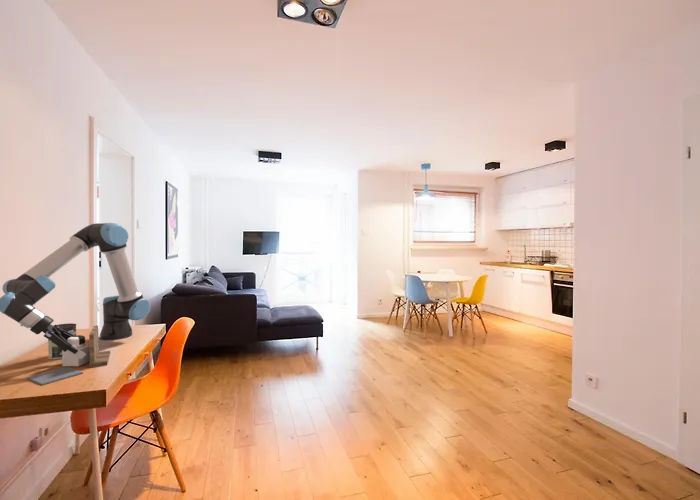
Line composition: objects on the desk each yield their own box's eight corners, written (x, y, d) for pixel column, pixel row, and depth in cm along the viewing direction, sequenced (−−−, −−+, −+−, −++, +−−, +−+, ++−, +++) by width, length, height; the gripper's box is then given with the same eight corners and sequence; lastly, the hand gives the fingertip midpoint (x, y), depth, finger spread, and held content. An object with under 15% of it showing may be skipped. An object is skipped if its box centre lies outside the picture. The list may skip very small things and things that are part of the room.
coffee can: (82, 352, 165) (81, 323, 165) (60, 360, 155) (59, 329, 155) (65, 351, 167) (64, 322, 167) (42, 358, 157) (41, 328, 157)
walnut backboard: (94, 355, 161) (94, 325, 161) (110, 353, 165) (109, 324, 164) (89, 367, 146) (89, 334, 146) (107, 364, 149) (106, 332, 149)
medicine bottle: (75, 360, 155) (75, 334, 154) (91, 360, 154) (90, 334, 154) (61, 366, 147) (61, 338, 147) (78, 366, 147) (77, 338, 147)
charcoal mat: (67, 367, 146) (67, 366, 146) (82, 373, 139) (82, 372, 139) (27, 378, 134) (27, 377, 134) (42, 385, 128) (42, 383, 128)
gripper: (36, 323, 152) (81, 353, 161) (20, 335, 133) (73, 368, 142) (51, 310, 155) (95, 340, 163) (38, 320, 136) (89, 353, 144)
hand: (85, 353), depth 152 cm, fingers closed on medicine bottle, 10 cm apart
